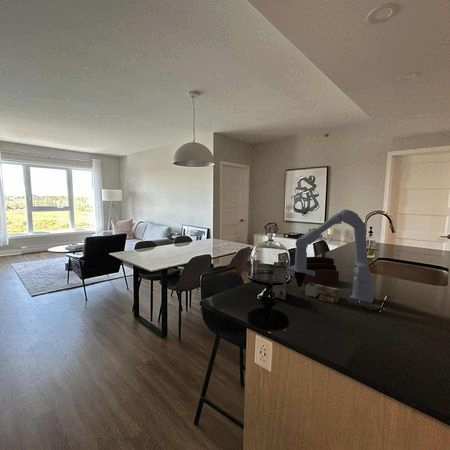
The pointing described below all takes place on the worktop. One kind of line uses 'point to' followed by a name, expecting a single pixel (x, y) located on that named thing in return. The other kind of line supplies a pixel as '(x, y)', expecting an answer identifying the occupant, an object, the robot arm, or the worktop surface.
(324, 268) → the letter holder
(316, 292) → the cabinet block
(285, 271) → the coffee box
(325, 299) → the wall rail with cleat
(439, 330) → the worktop surface
